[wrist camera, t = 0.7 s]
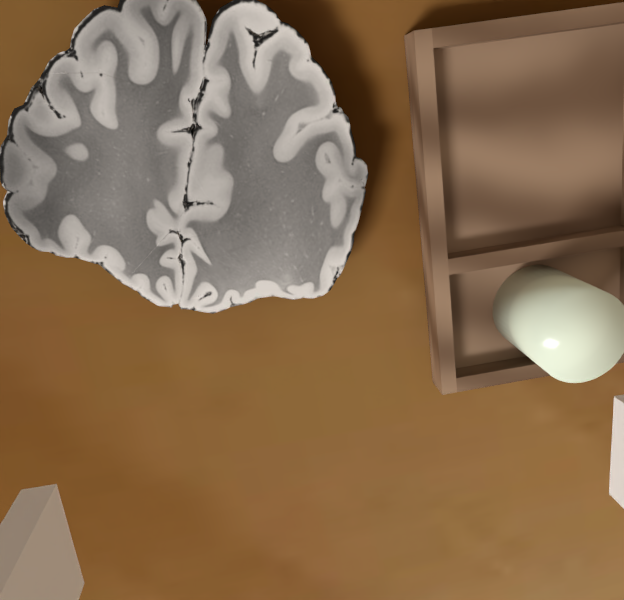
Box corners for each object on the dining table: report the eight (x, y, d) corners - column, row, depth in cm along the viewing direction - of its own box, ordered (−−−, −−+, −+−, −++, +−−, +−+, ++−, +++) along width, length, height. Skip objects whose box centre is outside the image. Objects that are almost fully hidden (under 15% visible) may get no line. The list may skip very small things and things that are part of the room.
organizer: (404, 35, 34) (414, 30, 32) (635, 4, 35) (658, -3, 33) (432, 381, 40) (442, 394, 38) (626, 347, 41) (645, 358, 39)
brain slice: (384, 37, 34) (397, 29, 31) (331, 315, 38) (338, 330, 36) (27, -39, 31) (5, -56, 28) (14, 272, 35) (-6, 284, 33)
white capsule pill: (490, 272, 38) (534, 298, 32) (573, 258, 38) (631, 282, 33) (494, 352, 40) (536, 390, 34) (574, 338, 40) (629, 373, 34)
